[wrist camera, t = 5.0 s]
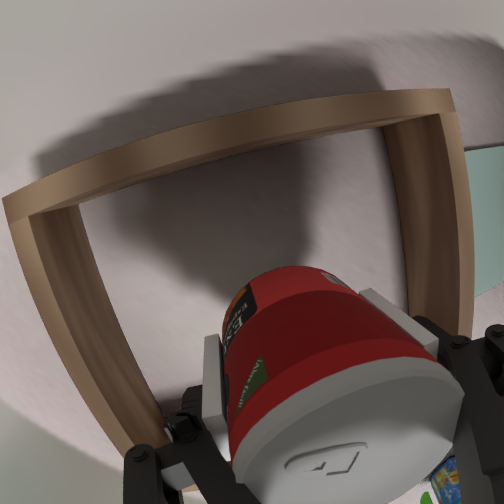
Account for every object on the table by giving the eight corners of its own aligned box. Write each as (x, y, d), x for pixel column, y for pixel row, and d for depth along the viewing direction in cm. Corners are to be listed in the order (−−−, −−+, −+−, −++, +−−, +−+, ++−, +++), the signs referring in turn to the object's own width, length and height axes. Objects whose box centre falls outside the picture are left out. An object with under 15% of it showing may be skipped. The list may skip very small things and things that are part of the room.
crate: (393, 106, 21) (449, 88, 14) (421, 357, 27) (463, 395, 20) (55, 191, 20) (1, 198, 13) (160, 437, 25) (153, 494, 18)
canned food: (212, 271, 17) (210, 406, 6) (353, 252, 18) (493, 333, 7) (230, 387, 19) (249, 541, 8) (352, 365, 19) (437, 485, 9)
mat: (517, 143, 23) (521, 143, 23) (524, 265, 27) (528, 266, 26) (432, 156, 22) (437, 156, 22) (446, 308, 26) (449, 310, 25)
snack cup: (397, 497, 34) (422, 542, 24) (429, 454, 32) (465, 500, 22) (460, 476, 36) (487, 509, 26) (491, 434, 34) (523, 467, 24)
